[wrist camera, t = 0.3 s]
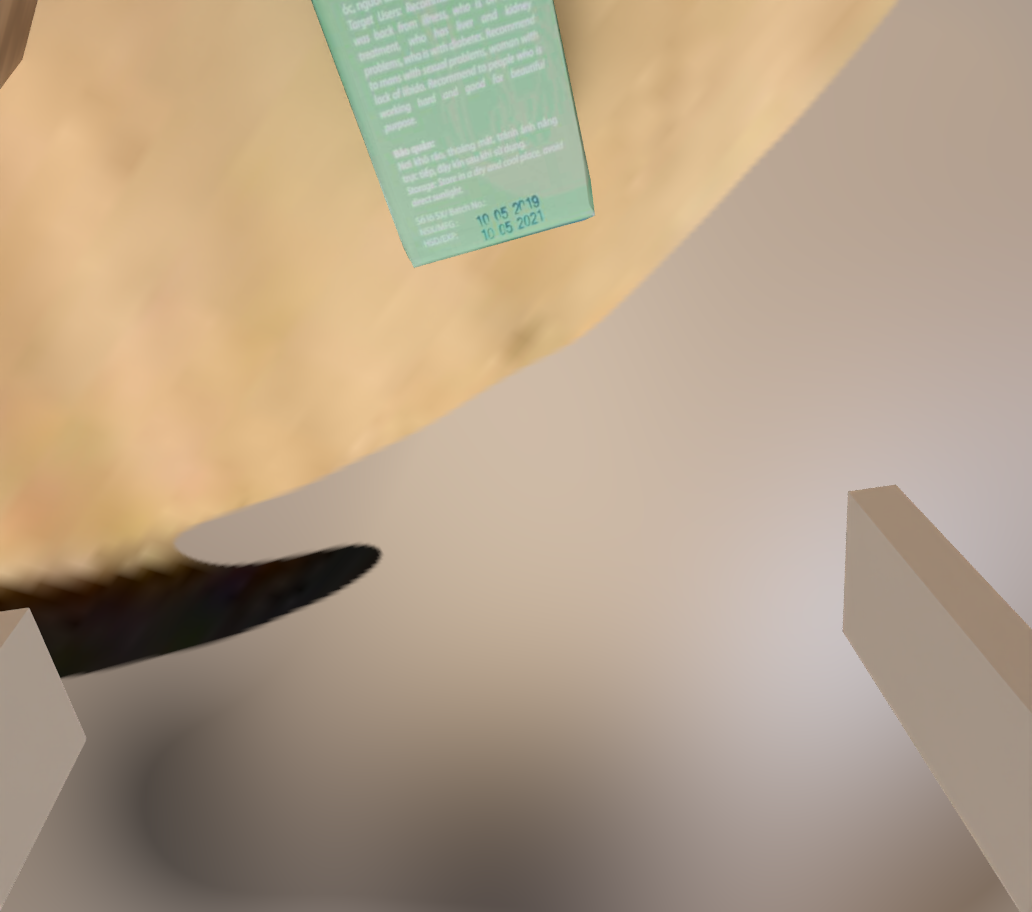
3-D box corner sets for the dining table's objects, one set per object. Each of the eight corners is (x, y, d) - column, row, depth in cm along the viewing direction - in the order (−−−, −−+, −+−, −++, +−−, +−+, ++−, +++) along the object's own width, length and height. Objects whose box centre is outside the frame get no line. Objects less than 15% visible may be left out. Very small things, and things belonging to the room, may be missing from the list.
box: (480, -246, 30) (511, -219, 25) (566, 137, 39) (603, 220, 34) (270, -175, 31) (253, -133, 25) (402, 188, 40) (412, 277, 34)
